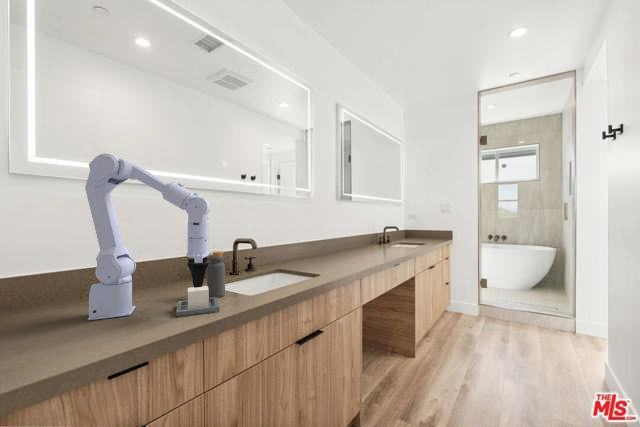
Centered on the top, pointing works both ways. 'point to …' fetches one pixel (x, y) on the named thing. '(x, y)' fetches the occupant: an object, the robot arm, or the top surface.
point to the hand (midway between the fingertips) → (197, 284)
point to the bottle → (216, 275)
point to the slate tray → (183, 308)
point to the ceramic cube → (198, 297)
